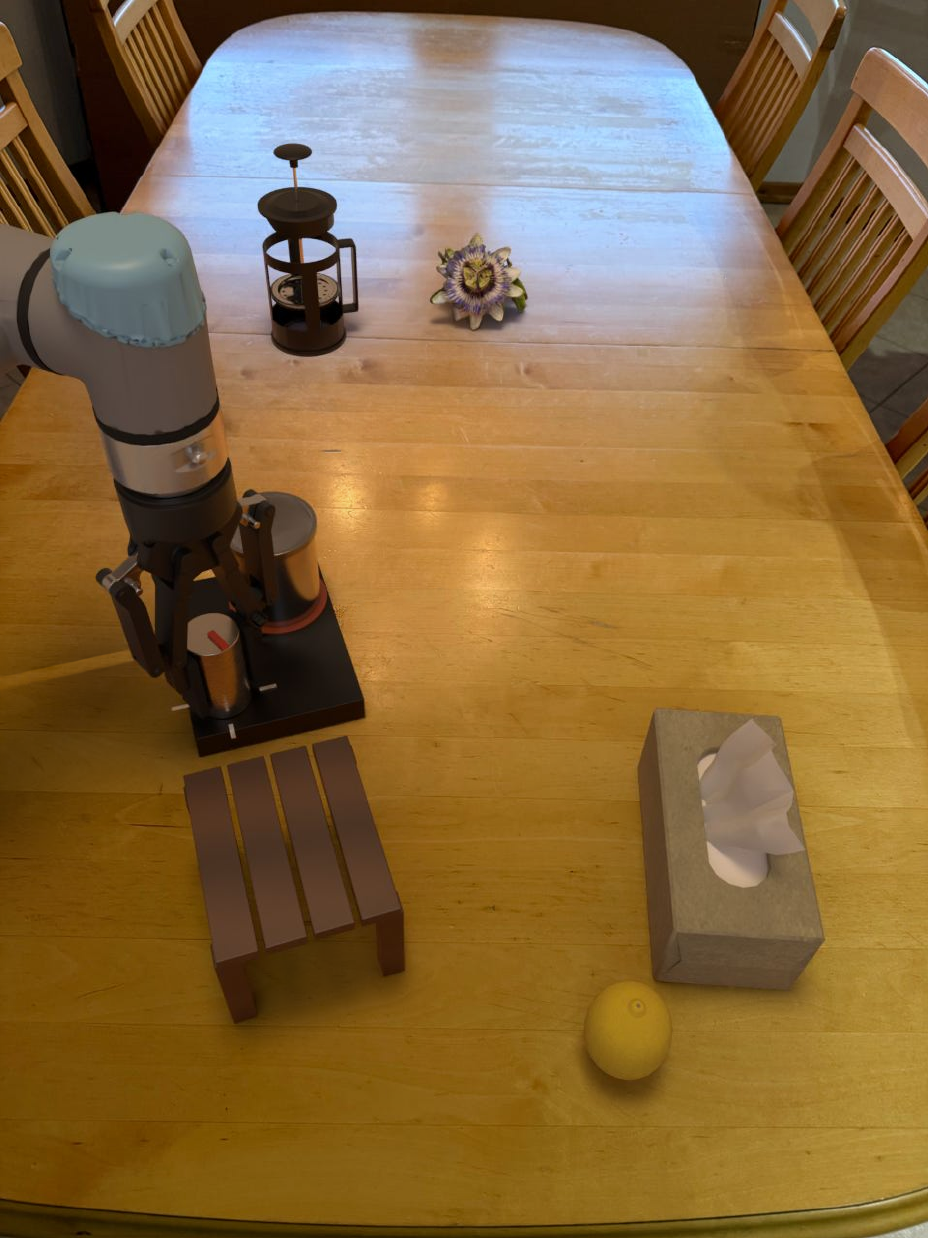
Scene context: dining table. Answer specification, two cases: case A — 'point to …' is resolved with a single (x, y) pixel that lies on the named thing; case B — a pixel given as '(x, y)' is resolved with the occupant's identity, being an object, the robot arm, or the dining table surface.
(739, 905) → the tissue box
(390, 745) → the dining table surface
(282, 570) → the pot
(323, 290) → the french press
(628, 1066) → the lemon
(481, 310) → the passion flower
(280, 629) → the burner
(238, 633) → the hob knob
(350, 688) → the hob
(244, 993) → the drying rack
